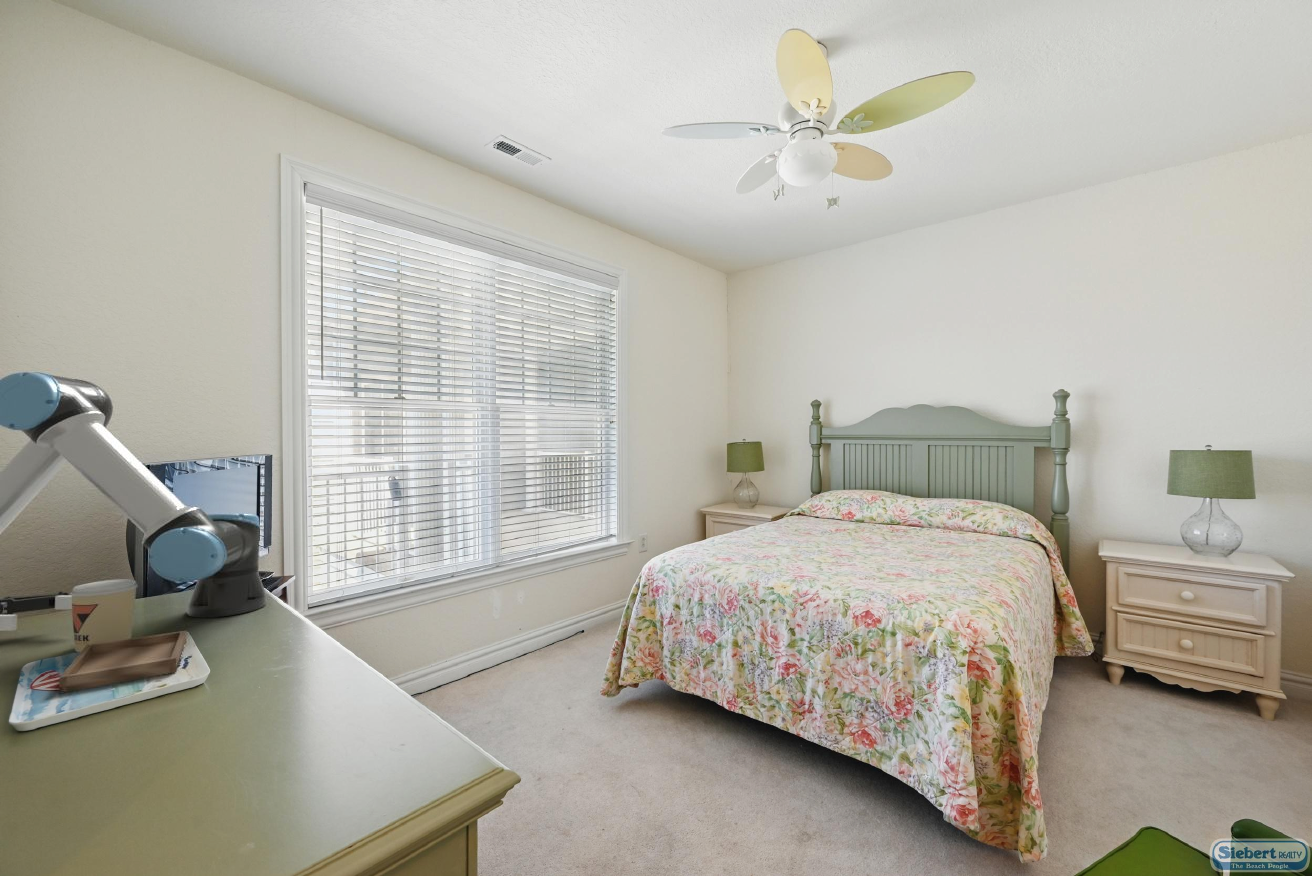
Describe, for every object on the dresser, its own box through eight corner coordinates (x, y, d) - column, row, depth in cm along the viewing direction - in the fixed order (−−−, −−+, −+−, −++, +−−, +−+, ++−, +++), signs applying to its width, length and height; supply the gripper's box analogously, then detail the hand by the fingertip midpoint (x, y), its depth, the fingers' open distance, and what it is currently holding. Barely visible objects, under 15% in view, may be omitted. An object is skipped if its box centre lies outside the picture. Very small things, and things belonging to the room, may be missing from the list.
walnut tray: (185, 643, 110) (186, 630, 110) (175, 672, 95) (176, 658, 95) (86, 658, 101) (86, 645, 101) (58, 693, 87) (59, 677, 87)
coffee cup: (60, 648, 106) (62, 586, 107) (124, 634, 115) (126, 576, 115) (79, 657, 102) (81, 592, 102) (144, 642, 110) (146, 581, 111)
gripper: (15, 612, 120) (114, 612, 121) (-150, 654, 95) (-24, 654, 96) (16, 578, 120) (115, 578, 121) (-148, 611, 95) (-22, 611, 96)
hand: (54, 611), depth 108 cm, fingers open, 13 cm apart
